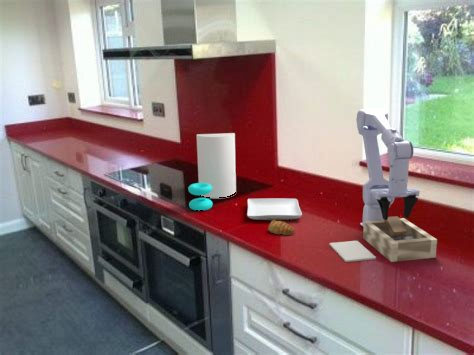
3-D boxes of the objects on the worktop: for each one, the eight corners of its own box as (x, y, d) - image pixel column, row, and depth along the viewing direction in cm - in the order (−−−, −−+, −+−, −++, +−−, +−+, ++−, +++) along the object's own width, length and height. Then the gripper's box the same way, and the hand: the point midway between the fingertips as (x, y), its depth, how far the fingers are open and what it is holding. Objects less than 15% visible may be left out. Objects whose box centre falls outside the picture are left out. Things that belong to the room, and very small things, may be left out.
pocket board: (362, 237, 165) (363, 221, 163) (402, 234, 167) (403, 218, 166) (391, 262, 146) (392, 243, 144) (435, 257, 148) (437, 239, 147)
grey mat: (329, 244, 160) (329, 243, 160) (357, 242, 161) (357, 240, 161) (345, 262, 146) (345, 260, 146) (375, 259, 148) (376, 257, 148)
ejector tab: (375, 223, 160) (376, 220, 159) (402, 221, 162) (403, 217, 161) (392, 254, 150) (394, 251, 149) (421, 251, 151) (423, 248, 150)
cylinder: (237, 197, 214) (236, 136, 207) (199, 199, 213) (196, 137, 206) (234, 187, 231) (233, 130, 223) (199, 188, 230) (196, 131, 222)
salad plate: (302, 222, 182) (302, 214, 181) (247, 223, 182) (247, 215, 182) (296, 205, 202) (297, 197, 202) (247, 206, 203) (247, 198, 202)
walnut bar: (383, 221, 160) (385, 217, 159) (396, 220, 161) (397, 216, 159) (392, 236, 155) (394, 232, 153) (405, 235, 155) (407, 230, 154)
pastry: (298, 231, 172) (298, 222, 171) (289, 238, 167) (289, 228, 166) (275, 227, 178) (275, 217, 177) (266, 233, 172) (266, 223, 171)
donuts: (190, 181, 204) (213, 182, 203) (191, 204, 206) (214, 204, 205) (185, 188, 194) (209, 188, 193) (186, 211, 197) (210, 211, 196)
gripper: (383, 183, 148) (380, 224, 151) (425, 180, 150) (422, 220, 154) (373, 177, 155) (370, 216, 158) (414, 174, 157) (411, 213, 161)
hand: (395, 218), depth 156 cm, fingers open, 7 cm apart
